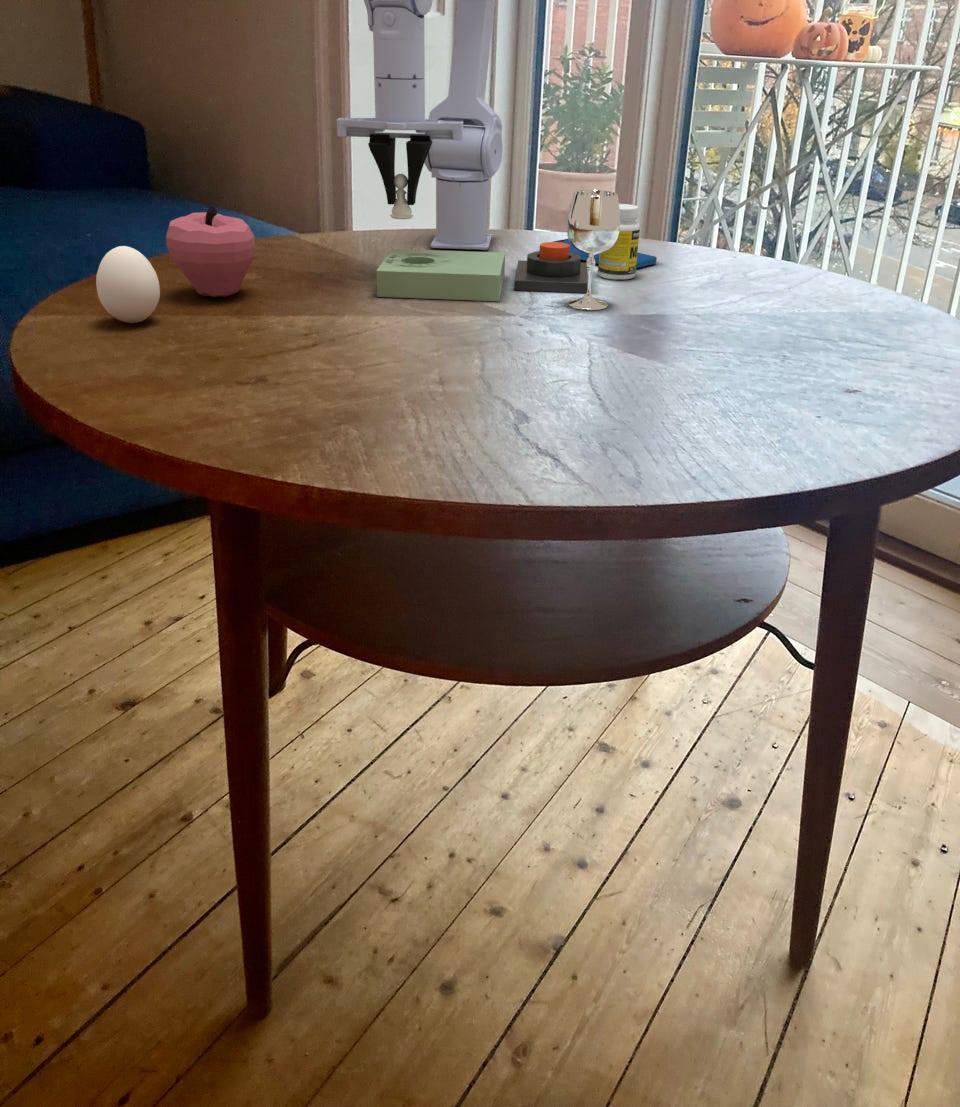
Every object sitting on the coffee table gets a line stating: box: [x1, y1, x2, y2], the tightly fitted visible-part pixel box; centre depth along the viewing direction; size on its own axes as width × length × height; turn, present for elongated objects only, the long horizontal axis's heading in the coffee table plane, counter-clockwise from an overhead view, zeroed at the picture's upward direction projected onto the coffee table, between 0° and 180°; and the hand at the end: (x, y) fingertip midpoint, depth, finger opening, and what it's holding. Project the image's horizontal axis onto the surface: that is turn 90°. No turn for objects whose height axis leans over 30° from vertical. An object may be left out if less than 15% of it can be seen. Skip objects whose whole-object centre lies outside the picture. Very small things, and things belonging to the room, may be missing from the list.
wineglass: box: [566, 189, 620, 311], centre depth 109 cm, size 6×6×12 cm
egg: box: [95, 245, 161, 324], centre depth 100 cm, size 6×6×8 cm
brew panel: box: [514, 250, 588, 294], centre depth 121 cm, size 11×9×3 cm
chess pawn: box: [389, 173, 414, 220], centre depth 118 cm, size 3×3×5 cm
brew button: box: [538, 241, 570, 260], centre depth 120 cm, size 4×4×2 cm
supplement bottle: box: [597, 203, 641, 281], centre depth 123 cm, size 5×5×8 cm
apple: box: [165, 205, 256, 298], centre depth 110 cm, size 10×9×10 cm
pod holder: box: [375, 248, 506, 302], centre depth 117 cm, size 12×14×3 cm
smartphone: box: [552, 238, 658, 269], centre depth 133 cm, size 7×1×15 cm
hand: (401, 203), depth 119 cm, fingers closed on chess pawn, 2 cm apart
